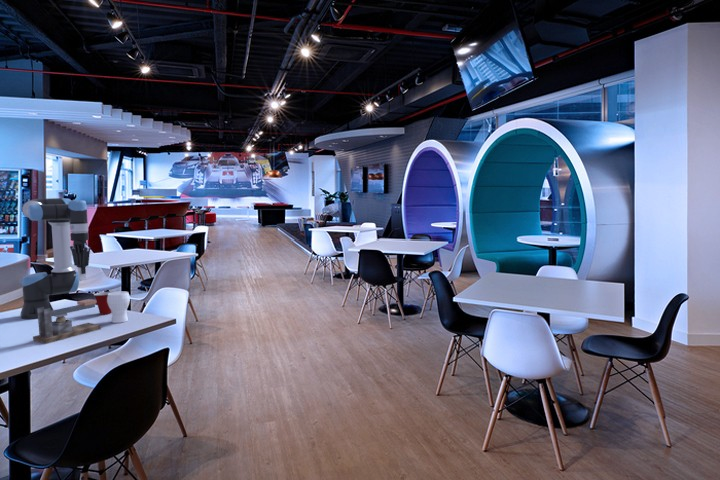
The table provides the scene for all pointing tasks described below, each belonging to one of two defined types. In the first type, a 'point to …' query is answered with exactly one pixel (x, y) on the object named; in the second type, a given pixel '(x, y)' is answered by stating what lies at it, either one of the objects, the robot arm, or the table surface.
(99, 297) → the plastic cup
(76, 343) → the table surface
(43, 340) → the press base
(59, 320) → the walnut
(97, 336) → the table surface
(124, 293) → the cup
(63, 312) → the lever
